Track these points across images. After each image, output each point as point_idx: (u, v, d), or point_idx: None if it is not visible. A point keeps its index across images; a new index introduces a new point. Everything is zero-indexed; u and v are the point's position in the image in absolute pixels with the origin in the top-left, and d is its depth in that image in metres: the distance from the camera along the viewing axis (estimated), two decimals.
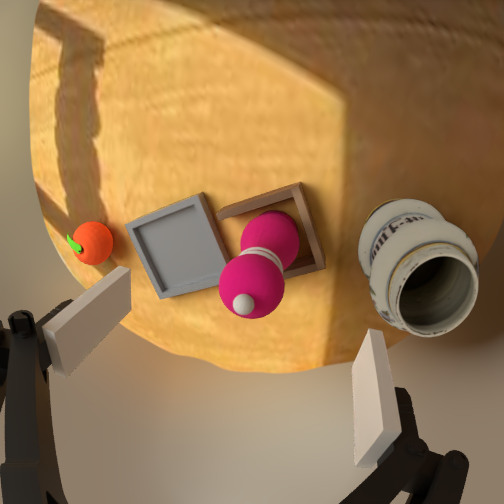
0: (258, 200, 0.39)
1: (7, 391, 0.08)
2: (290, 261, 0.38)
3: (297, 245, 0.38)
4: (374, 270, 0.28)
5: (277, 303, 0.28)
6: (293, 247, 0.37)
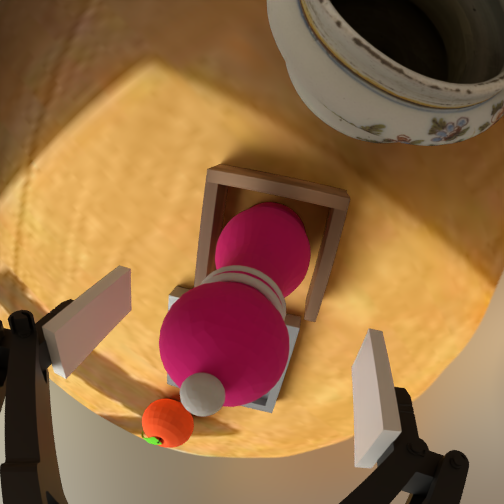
0: (201, 231, 0.26)
1: (7, 391, 0.08)
2: (294, 244, 0.22)
3: (281, 219, 0.23)
4: (326, 100, 0.11)
5: (264, 334, 0.12)
6: (274, 227, 0.22)
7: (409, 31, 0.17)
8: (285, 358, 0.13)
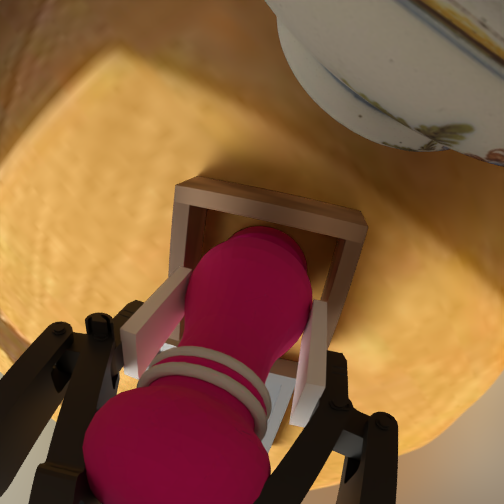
0: (171, 266, 0.20)
1: (67, 392, 0.09)
2: (289, 294, 0.16)
3: (272, 257, 0.16)
4: (349, 68, 0.05)
5: (223, 490, 0.06)
6: (261, 271, 0.15)
7: None
8: None
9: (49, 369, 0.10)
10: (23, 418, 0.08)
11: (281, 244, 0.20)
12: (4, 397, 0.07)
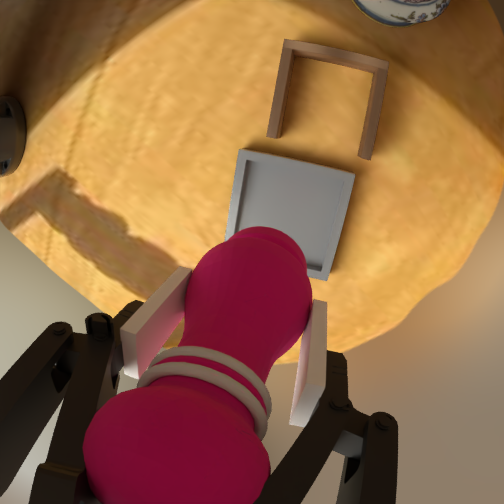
0: (277, 83, 0.30)
1: (67, 392, 0.09)
2: (289, 294, 0.16)
3: (272, 257, 0.16)
4: None
5: (223, 490, 0.06)
6: (262, 271, 0.15)
7: None
8: None
9: (49, 369, 0.10)
10: (23, 418, 0.08)
11: (281, 244, 0.20)
12: (4, 397, 0.07)
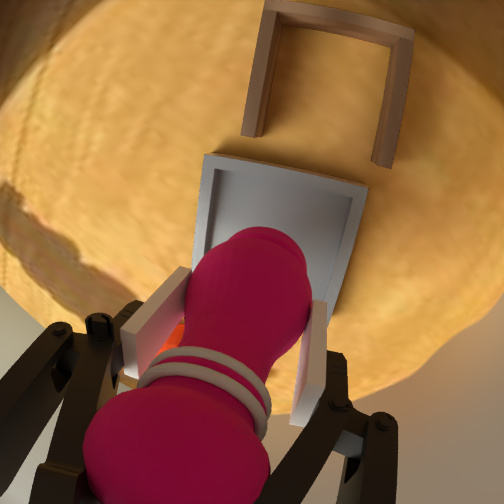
0: (255, 59, 0.20)
1: (67, 392, 0.09)
2: (289, 294, 0.16)
3: (272, 257, 0.16)
4: None
5: (223, 490, 0.06)
6: (261, 272, 0.15)
7: None
8: None
9: (49, 369, 0.10)
10: (23, 418, 0.08)
11: (281, 244, 0.20)
12: (5, 397, 0.07)
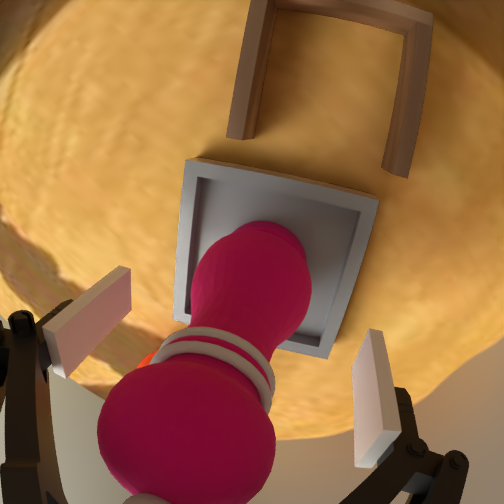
0: (244, 46, 0.16)
1: (7, 391, 0.08)
2: (290, 283, 0.17)
3: (275, 248, 0.17)
4: None
5: (234, 455, 0.07)
6: (264, 261, 0.16)
7: None
8: (267, 471, 0.08)
9: None
10: None
11: (282, 237, 0.21)
12: None
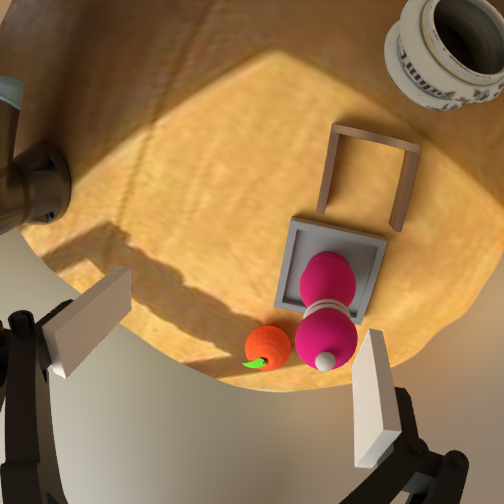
0: (326, 166, 0.36)
1: (7, 391, 0.08)
2: (349, 282, 0.37)
3: (341, 267, 0.38)
4: (430, 80, 0.21)
5: (350, 332, 0.27)
6: (338, 273, 0.37)
7: (449, 45, 0.27)
8: (356, 344, 0.28)
9: None
10: None
11: (340, 260, 0.41)
12: None
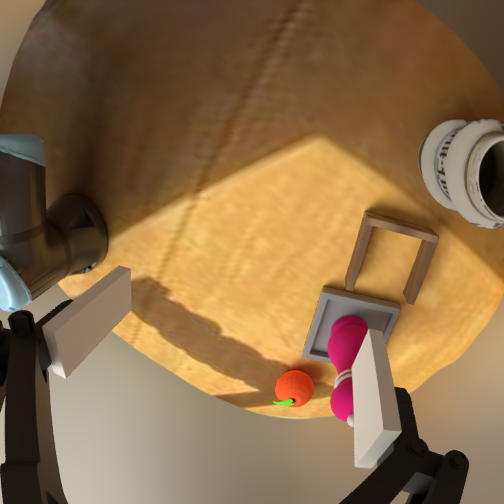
0: (358, 253, 0.43)
1: (7, 391, 0.08)
2: None
3: (364, 334, 0.44)
4: (462, 213, 0.28)
5: None
6: (362, 341, 0.43)
7: None
8: None
9: None
10: None
11: (361, 324, 0.48)
12: None
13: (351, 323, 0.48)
